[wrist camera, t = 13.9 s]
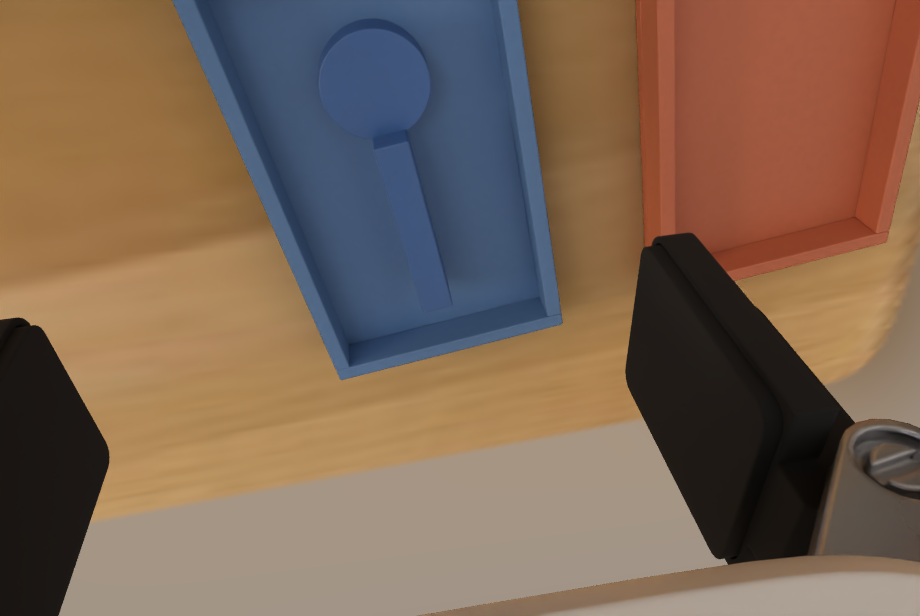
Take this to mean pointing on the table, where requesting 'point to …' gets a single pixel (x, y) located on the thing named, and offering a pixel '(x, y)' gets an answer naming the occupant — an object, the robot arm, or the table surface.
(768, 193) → the red tray
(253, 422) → the table surface
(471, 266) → the blue tray
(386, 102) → the blue spoon
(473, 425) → the table surface
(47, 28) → the table surface
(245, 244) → the table surface
